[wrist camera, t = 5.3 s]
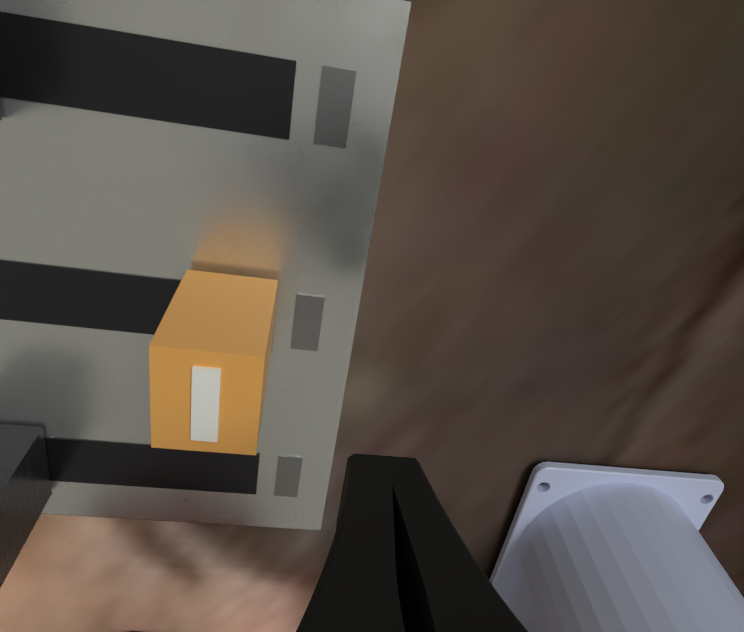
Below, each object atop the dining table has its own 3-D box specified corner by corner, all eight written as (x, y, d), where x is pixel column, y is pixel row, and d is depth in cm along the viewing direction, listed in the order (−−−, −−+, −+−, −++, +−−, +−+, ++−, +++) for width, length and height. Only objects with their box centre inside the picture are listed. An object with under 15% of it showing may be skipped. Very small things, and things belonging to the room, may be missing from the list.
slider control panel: (321, 488, 23) (319, 633, 18) (-70, 461, 21) (-198, 615, 16) (401, 0, 15) (440, 7, 10) (-219, -115, 13) (-578, -184, 8)
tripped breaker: (270, 365, 17) (255, 458, 14) (185, 357, 17) (150, 450, 13) (278, 280, 16) (264, 359, 12) (186, 269, 16) (147, 347, 12)
